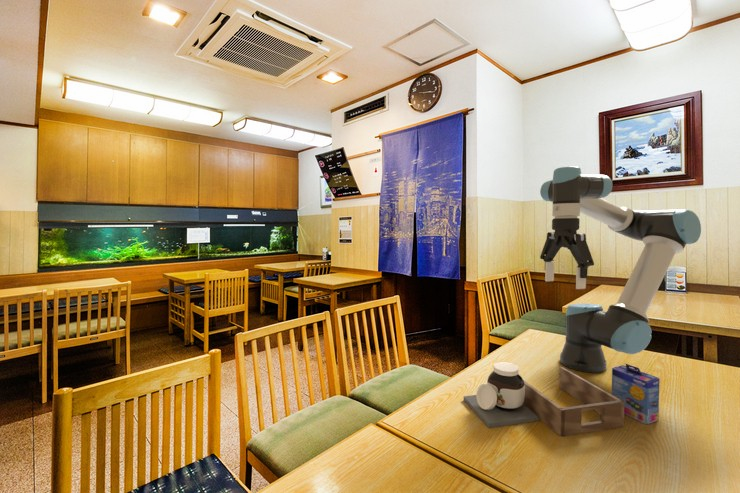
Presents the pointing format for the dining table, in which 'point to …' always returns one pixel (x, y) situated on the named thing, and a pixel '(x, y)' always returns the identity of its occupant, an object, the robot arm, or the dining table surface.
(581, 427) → the wooden tray frame
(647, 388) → the ink cartridge box
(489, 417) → the slate board
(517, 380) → the spread jar
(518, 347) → the dining table surface
